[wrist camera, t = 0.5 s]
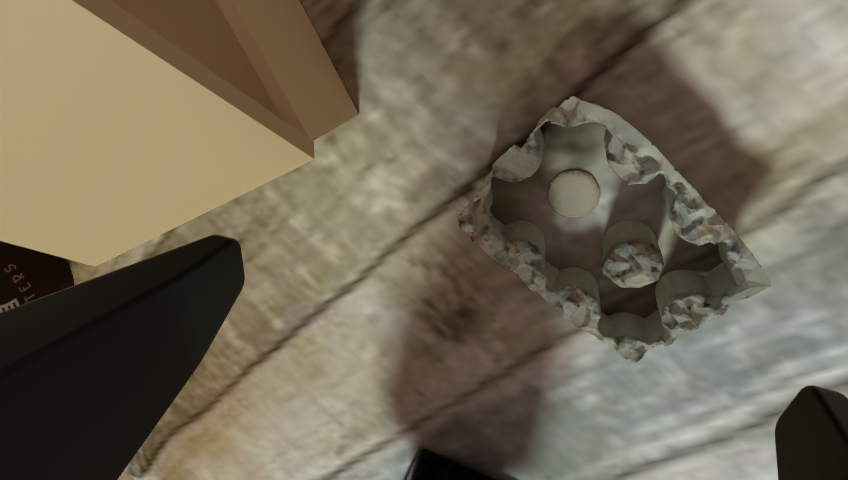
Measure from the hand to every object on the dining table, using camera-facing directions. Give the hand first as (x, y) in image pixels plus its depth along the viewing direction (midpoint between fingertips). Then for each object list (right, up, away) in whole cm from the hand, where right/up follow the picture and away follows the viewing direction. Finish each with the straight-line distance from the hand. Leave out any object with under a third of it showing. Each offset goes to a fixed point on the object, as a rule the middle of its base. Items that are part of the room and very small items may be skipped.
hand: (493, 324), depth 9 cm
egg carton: (+7, +3, +16) cm, 17 cm away
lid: (-14, +5, +9) cm, 17 cm away
